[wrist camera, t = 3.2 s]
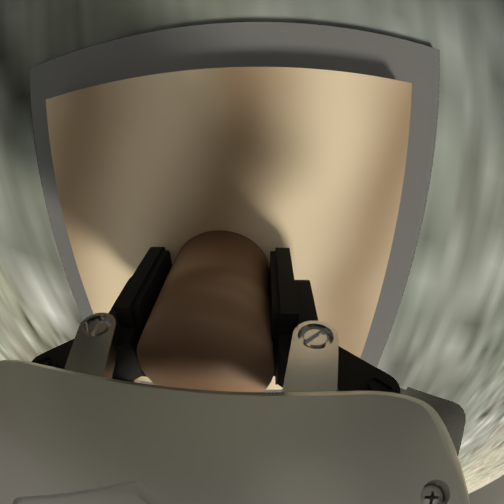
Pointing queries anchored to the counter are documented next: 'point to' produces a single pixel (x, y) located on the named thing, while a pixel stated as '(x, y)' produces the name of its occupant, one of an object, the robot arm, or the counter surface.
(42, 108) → the mat
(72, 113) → the lid
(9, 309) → the counter surface
